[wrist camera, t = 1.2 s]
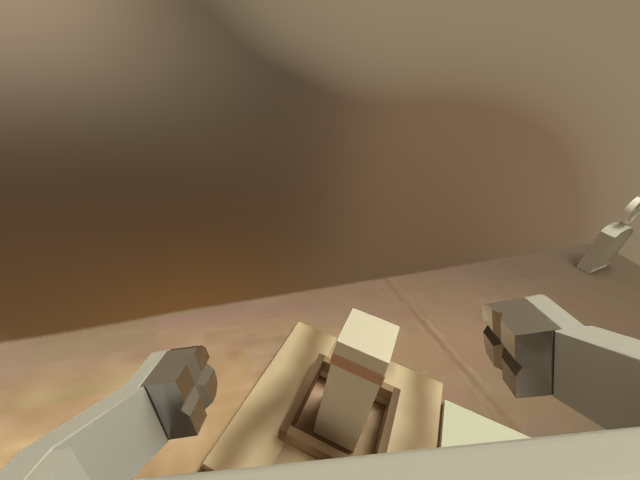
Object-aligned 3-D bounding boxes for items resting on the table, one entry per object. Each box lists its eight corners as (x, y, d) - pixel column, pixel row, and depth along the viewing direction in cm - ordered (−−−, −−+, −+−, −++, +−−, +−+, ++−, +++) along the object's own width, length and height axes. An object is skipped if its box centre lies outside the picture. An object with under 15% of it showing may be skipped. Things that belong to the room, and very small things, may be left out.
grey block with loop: (576, 266, 74) (626, 194, 65) (594, 259, 79) (644, 190, 70) (588, 273, 73) (642, 200, 63) (607, 266, 77) (660, 196, 68)
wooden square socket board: (203, 468, 30) (201, 453, 29) (298, 326, 46) (300, 312, 45) (418, 599, 25) (430, 589, 24) (439, 388, 41) (447, 374, 40)
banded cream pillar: (311, 431, 34) (335, 341, 27) (328, 395, 38) (352, 307, 31) (353, 453, 33) (390, 365, 26) (366, 413, 37) (400, 326, 30)
